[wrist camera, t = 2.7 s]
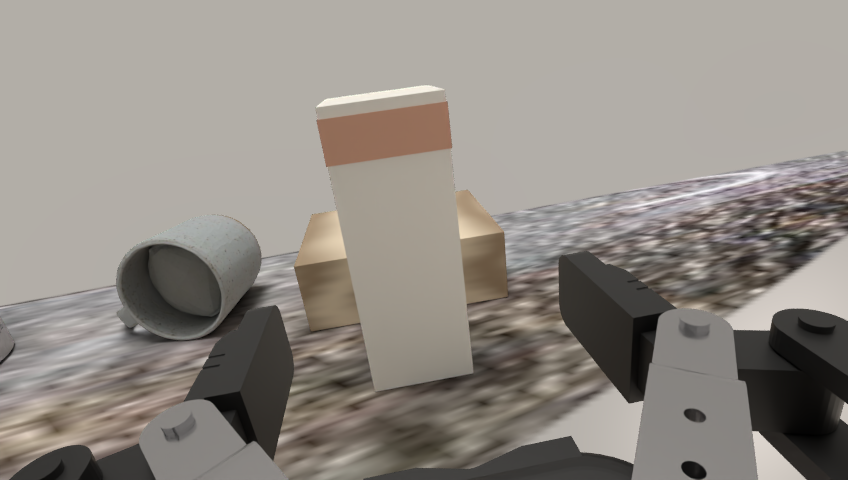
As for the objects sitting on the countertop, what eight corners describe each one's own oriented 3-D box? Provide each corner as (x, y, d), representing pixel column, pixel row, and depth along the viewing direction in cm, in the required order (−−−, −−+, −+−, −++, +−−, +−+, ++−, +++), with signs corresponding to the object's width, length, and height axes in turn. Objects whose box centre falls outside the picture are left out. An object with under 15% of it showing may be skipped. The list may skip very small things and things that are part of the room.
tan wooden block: (310, 331, 30) (294, 266, 28) (323, 265, 40) (311, 214, 39) (508, 296, 31) (504, 231, 29) (472, 240, 41) (467, 189, 40)
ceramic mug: (276, 281, 39) (251, 198, 36) (240, 335, 31) (204, 235, 28) (161, 296, 39) (127, 215, 36) (98, 352, 32) (49, 256, 29)
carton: (374, 392, 24) (313, 107, 18) (372, 335, 29) (324, 99, 23) (474, 373, 24) (446, 89, 19) (455, 319, 29) (428, 84, 24)
